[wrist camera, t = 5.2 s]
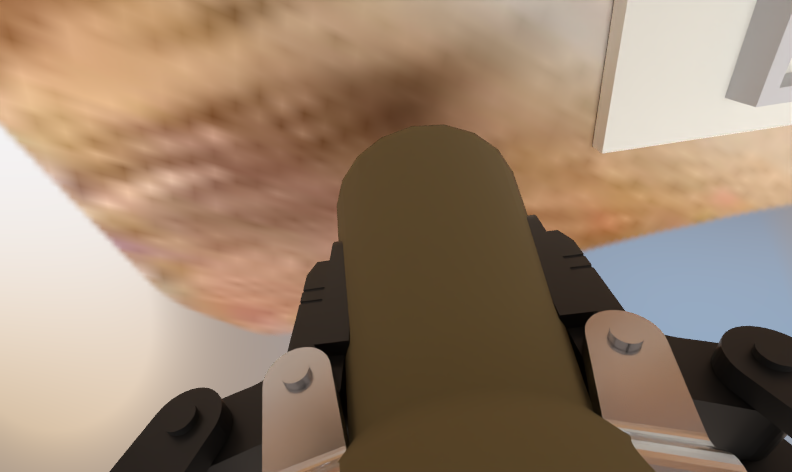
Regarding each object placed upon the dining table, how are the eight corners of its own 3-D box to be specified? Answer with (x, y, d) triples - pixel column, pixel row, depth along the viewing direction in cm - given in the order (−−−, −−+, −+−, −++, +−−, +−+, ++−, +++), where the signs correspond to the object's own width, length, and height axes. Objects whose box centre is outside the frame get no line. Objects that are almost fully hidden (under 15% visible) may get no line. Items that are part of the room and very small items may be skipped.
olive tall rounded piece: (556, 171, 12) (1154, 836, 3) (459, 298, 15) (580, 805, 6) (379, 88, 10) (349, 1049, 1) (313, 250, 13) (160, 844, 4)
